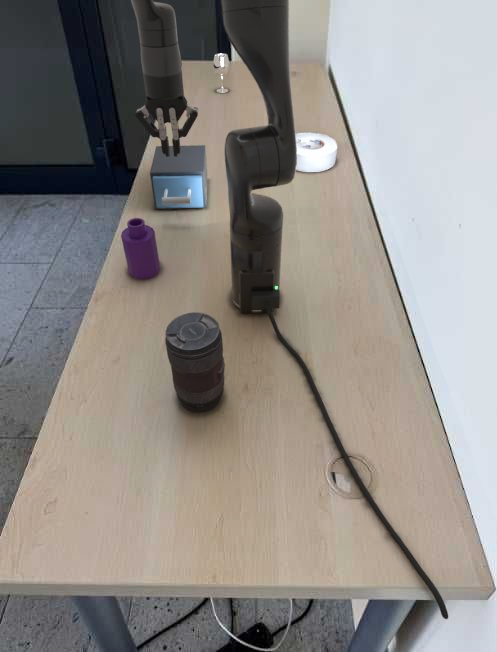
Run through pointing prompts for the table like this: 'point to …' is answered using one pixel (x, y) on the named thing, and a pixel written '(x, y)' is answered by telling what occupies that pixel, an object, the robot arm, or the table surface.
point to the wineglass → (221, 68)
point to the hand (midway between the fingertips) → (172, 154)
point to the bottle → (140, 249)
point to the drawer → (178, 191)
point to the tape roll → (315, 152)
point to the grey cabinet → (181, 166)
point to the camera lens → (196, 360)
